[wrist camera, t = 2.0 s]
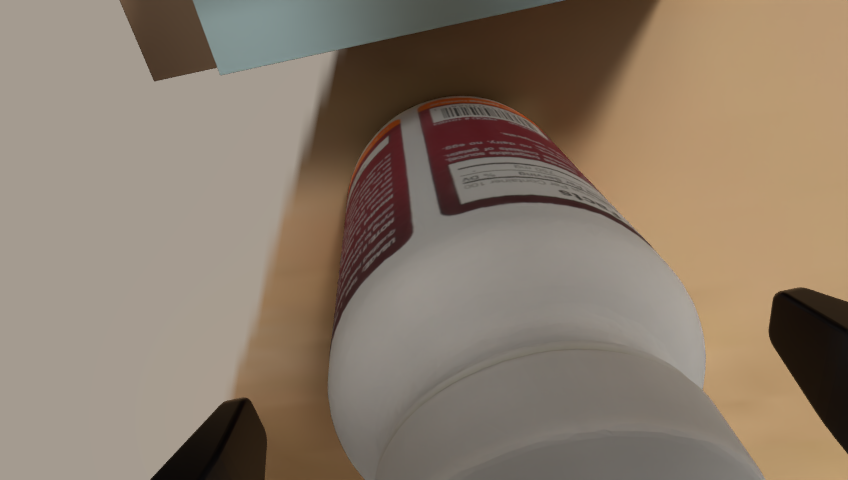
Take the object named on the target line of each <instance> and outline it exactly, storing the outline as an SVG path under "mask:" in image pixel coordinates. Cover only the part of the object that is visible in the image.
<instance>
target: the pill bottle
mask: <svg viewBox="0 0 848 480" xmlns="http://www.w3.org/2000/svg"><path fill="white" fill-rule="evenodd" d="M705 362H706V354H705V343H704V335H703V331H702V327H701V323H700V320H699V317H698V314H697V311H696V308H695V305H694V303H693V301H692V300H691V298H690V296H689V294H688V293H687V291H686V289H685V287H684V285H683V284H682V282H681V281H680V279H679V278H678V276H677V275H676V274H675V273H674V272H673V270H672V269H671V268H670V267H669V266H668V264H667V263H666V262H665V261H664V260H663V259H662V258H661V257H660V256H659V254H658V253H657V252H656V251H655V250H654V249H653V248H652V247H651V245H650V244H649V243H648V242H647V241H646V240H645V239H644V238H643V237H642V236H641V235H640V234H639V233H638V232H637V231H636V230H635V229H634V228H633V227H632V226H631V224H630V223H629V222H628V221H627V220H626V219H625V218H624V217H623V216H622V215H621V214H620V213H619V212H618V211H617V210H616V209H615V207H614V206H612V205H611V204H610V203H609V202H608V200H607V199H606V198H605V197H604V196H603V195H602V194H601V193H600V192H599V191H598V190H597V189H596V188H595V186H594V185H593V184H592V183H591V182H590V181H589V180H588V179H587V178H586V177H585V176H584V175H583V174H582V173H581V172H580V171H579V170H578V169H577V168H576V166H575V165H574V164H573V163H572V162H571V161H570V160H569V159H568V158H567V157H566V156H565V155H564V154H563V152H562V151H561V150H560V149H559V148H558V147H557V146H556V145H555V144H554V143H553V142H552V141H551V140H550V139H549V137H548V136H547V135H546V134H545V133H544V132H543V131H542V130H541V129H540V128H539V127H538V126H537V125H536V124H534V123H533V122H532V121H531V120H529V119H528V118H527V117H525V116H524V115H522V114H521V113H519V112H517V111H516V110H514V109H512V108H510V107H508V106H506V105H504V104H501V103H499V102H496V101H493V100H489V99H485V98H480V97H471V96H450V97H443V98H438V99H434V100H430V101H427V102H423V103H420V104H418V105H415V106H413V107H411V108H409V109H407V110H405V111H404V112H402V113H400V114H399V115H397V116H396V117H394V118H393V119H391V120H390V121H389V122H388V123H387V124H385V125H384V126H383V127H382V128H381V129H380V130H379V131H378V132H377V133H376V135H375V136H374V137H373V138H372V139H371V141H370V142H369V143H368V145H367V146H366V148H365V149H364V151H363V152H362V154H361V156H360V158H359V159H358V162H357V164H356V166H355V169H354V171H353V174H352V178H351V181H350V185H349V190H348V196H347V205H346V216H345V226H344V236H343V244H342V253H341V261H340V270H339V279H338V288H337V297H336V307H335V314H334V324H333V332H332V339H331V346H330V359H329V373H328V398H329V405H330V412H331V417H332V421H333V424H334V427H335V431H336V433H337V436H338V438H339V440H340V443H341V445H342V447H343V449H344V451H345V453H346V455H347V456H348V458H349V460H350V461H351V463H352V464H353V466H354V467H355V468H356V469H357V471H358V472H359V473H360V474H361V476H362V477H363V478H364V479H365V480H765V478H764V476H763V474H762V473H761V471H760V469H759V468H758V466H757V465H756V463H755V462H754V461H753V459H752V458H751V456H750V455H749V453H748V452H747V451H746V449H745V448H744V446H743V445H742V443H741V442H740V440H739V439H738V438H737V436H736V435H735V433H734V432H733V430H732V429H731V427H730V426H729V425H728V423H727V422H726V420H725V419H724V417H723V416H722V414H721V413H720V412H719V410H718V409H717V407H716V406H715V405H714V403H713V402H712V400H711V399H710V398H709V397H708V395H707V394H706V393H705V392H704V391H703V390H702V389H703V384H704V376H705Z"/></svg>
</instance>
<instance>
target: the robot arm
mask: <svg viewBox="0 0 848 480" xmlns="http://www.w3.org/2000/svg"><path fill="white" fill-rule="evenodd" d="M769 337H770V340H771V343H772V345H773V347H774V348H775V350H776V351H777V353H778V354H779V356H780V357H781V359H782V360H783V362H784V364H785V365H786V367H787V368H788V370H789V371H790V373H791V374H792V376H793V377H794V379H795V381H796V382H797V384H798V385H799V387H800V388H801V390H802V391H803V393H804V394H805V396H806V398H807V399H808V401H809V402H810V404H811V405H812V407H813V408H814V410H815V411H816V413H817V414H818V416H819V417H820V419H821V420H822V421H823V423H824V424H825V426H826V427H827V428H828V430H829V431H830V432H831V433H832V435H833V436H834V437H835V439H836V440H837V441H838V442H839V444H840V445H841V446H842V447H843V449H844V450H845V451H846V452H847V454H848V302H846V301H843V300H840V299H837V298H834V297H831V296H828V295H825V294H822V293H819V292H816V291H813V290H810V289H807V288H802V287H801V288H794V289H789V290H784V291H780V292H778V293H776V294H775V296H774V297H773V302H772V309H771V316H770V324H769ZM266 450H267V437H266V432H265V429H264V427H263V425H262V423H261V421H260V419H259V416H258V414H257V412H256V410H255V408H254V406H253V404H252V402H251V401H250V400H249V399H248V398H238V399H233V400H228V401H225V402H223V403H222V404H221V405H220V406H219V407H218V408H217V409H216V410H215V411H214V412H213V413H212V415H210V416H209V418H208V419H207V420H206V421H205V422H204V423H203V424H202V425H201V426H200V427H199V428H198V429H197V430H196V431H195V432H194V434H193V435H192V436H191V437H190V438H189V439H188V440H187V441H186V442H185V443H184V444H183V445H182V446H181V447H180V448H179V450H178V451H177V452H176V453H175V454H174V455H173V456H172V457H171V458H170V459H169V460H168V461H167V462H166V464H164V466H163V467H162V468H161V469H160V470H159V471H158V472H157V473H156V474H155V475H154V476H153V477H152V478H151V480H264V479H265V465H266Z"/></svg>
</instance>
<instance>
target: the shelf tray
mask: <svg viewBox="0 0 848 480" xmlns="http://www.w3.org/2000/svg"><path fill="white" fill-rule="evenodd" d="M559 1H564V0H120V2H121V5H122V7H123V9H124V12H125V14H126V16H127V18H128V21H129V23H130V26H131V28H132V31H133V33H134V35H135V37H136V40H137V42H138V45H139V47H140V49H141V52H142V54H143V56H144V58H145V61H146V63H147V66H148V68H149V70H150V73H151V75H152V77H153V80H154V81H158V80H163V79H167V78H172V77H176V76H181V75H185V74H190V73H195V72H199V71H204V70H208V69H213V68H218V71H219V73H220V75H225V74H229V73H234V72H238V71H243V70H248V69H252V68H256V67H261V66H265V65H270V64H275V63H280V62H284V61H288V60H293V59H298V58H303V57H307V56H312V55H316V54H321V53H326V52H330V51H335V50H339V49H344V48H348V47H353V46H358V45H362V44H367V43H371V42H376V41H380V40H385V39H390V38H394V37H399V36H403V35H408V34H413V33H417V32H422V31H426V30H431V29H435V28H440V27H445V26H449V25H454V24H458V23H463V22H468V21H472V20H477V19H481V18H486V17H490V16H495V15H500V14H504V13H509V12H513V11H518V10H522V9H527V8H532V7H536V6H541V5H545V4H550V3H555V2H559Z"/></svg>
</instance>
